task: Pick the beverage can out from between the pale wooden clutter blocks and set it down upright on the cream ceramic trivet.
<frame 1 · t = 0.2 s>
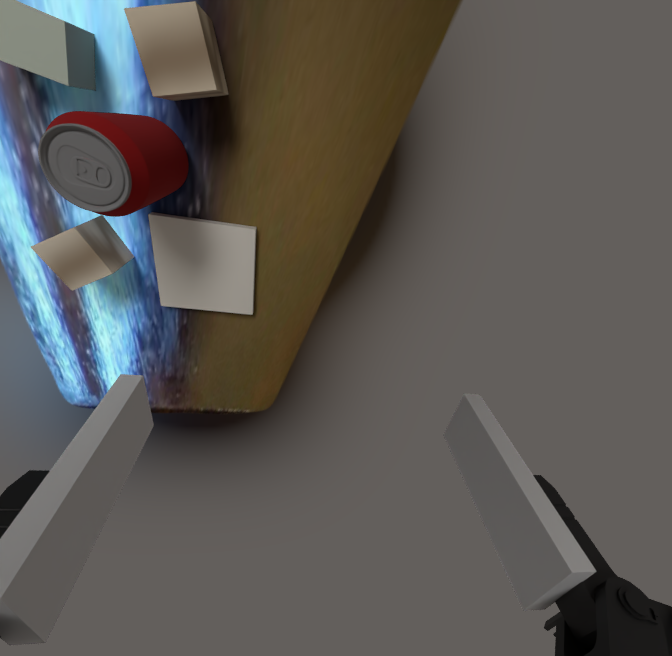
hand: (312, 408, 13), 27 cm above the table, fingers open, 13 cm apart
beverage can: (156, 156, 31), on the table
beech block: (192, 62, 28), on the table
trivet: (207, 266, 37), on the table
sage block: (55, 47, 26), on the table
maple block: (100, 244, 35), on the table
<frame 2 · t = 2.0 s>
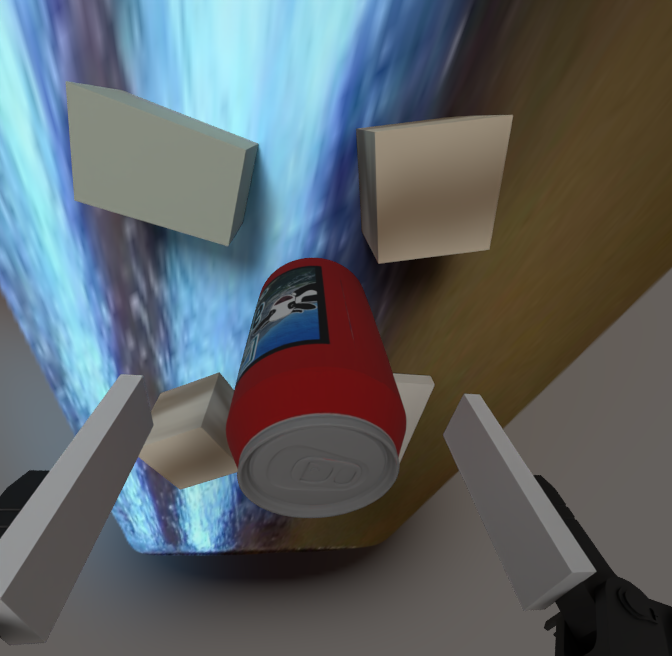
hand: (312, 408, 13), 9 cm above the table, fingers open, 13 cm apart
beverage can: (312, 300, 20), on the table
beech block: (405, 178, 17), on the table
trivet: (349, 419, 27), on the table
sage block: (189, 163, 16), on the table
maple block: (209, 403, 25), on the table
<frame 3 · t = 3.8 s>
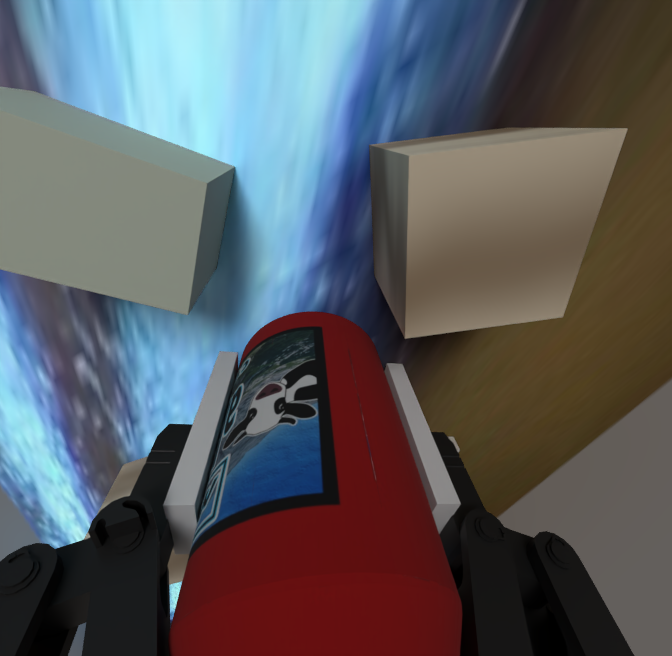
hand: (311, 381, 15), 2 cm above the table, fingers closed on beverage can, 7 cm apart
beverage can: (310, 358, 16), on the table, touching gripper
beech block: (433, 208, 13), on the table
sage block: (141, 192, 11), on the table
maple block: (184, 473, 20), on the table
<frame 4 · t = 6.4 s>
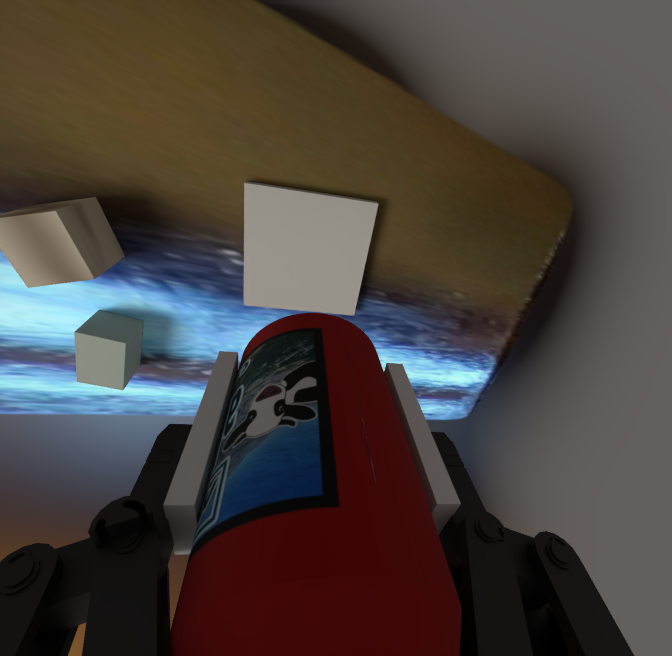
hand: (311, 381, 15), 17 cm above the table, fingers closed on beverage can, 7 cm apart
beverage can: (310, 359, 16), point 16 cm above the table, touching gripper
beech block: (82, 231, 27), on the table
trivet: (306, 254, 29), on the table
sage block: (121, 338, 33), on the table
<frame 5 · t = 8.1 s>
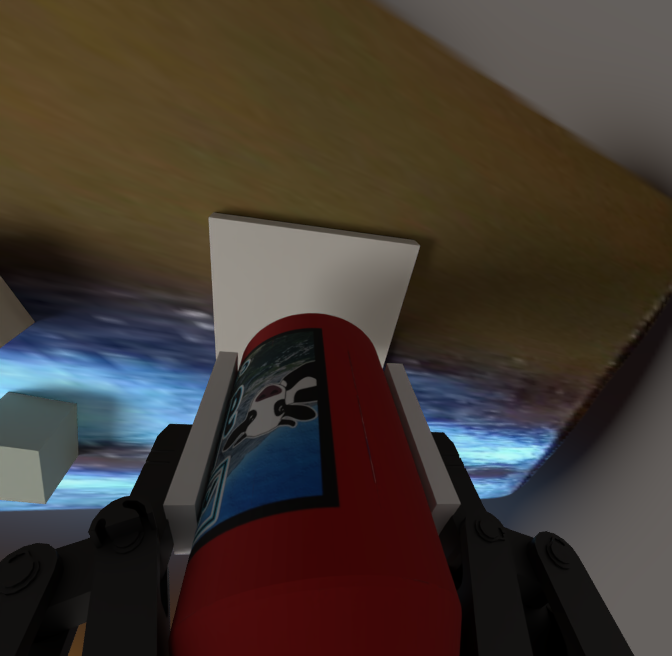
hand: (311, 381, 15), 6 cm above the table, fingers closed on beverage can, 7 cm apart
beverage can: (310, 359, 16), point 4 cm above the table, touching gripper
trivet: (308, 314, 20), on the table
sage block: (47, 424, 23), on the table
when the fingers open (4 cm above the table, at t = 9.3 s): beverage can drops 2 cm, resting on trivet.
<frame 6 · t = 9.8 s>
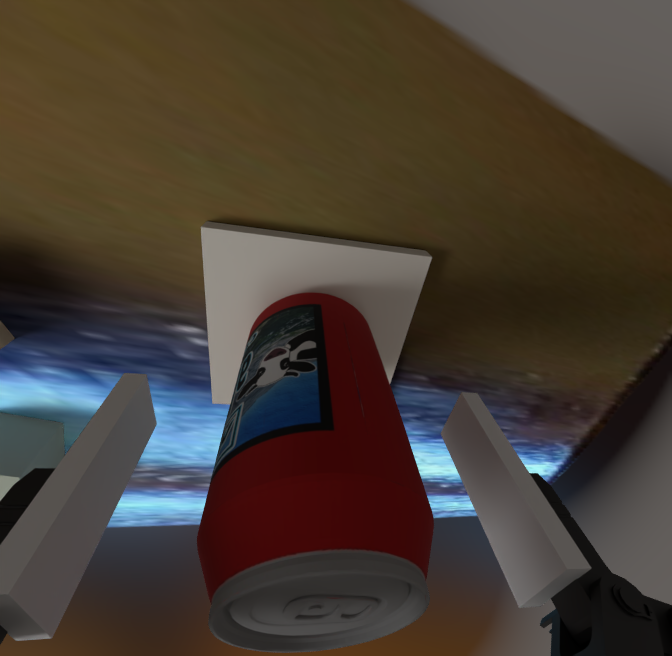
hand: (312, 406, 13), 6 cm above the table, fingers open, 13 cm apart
beverage can: (310, 337, 18), point 1 cm above the table, touching trivet
trivet: (309, 328, 18), on the table
sage block: (32, 443, 22), on the table
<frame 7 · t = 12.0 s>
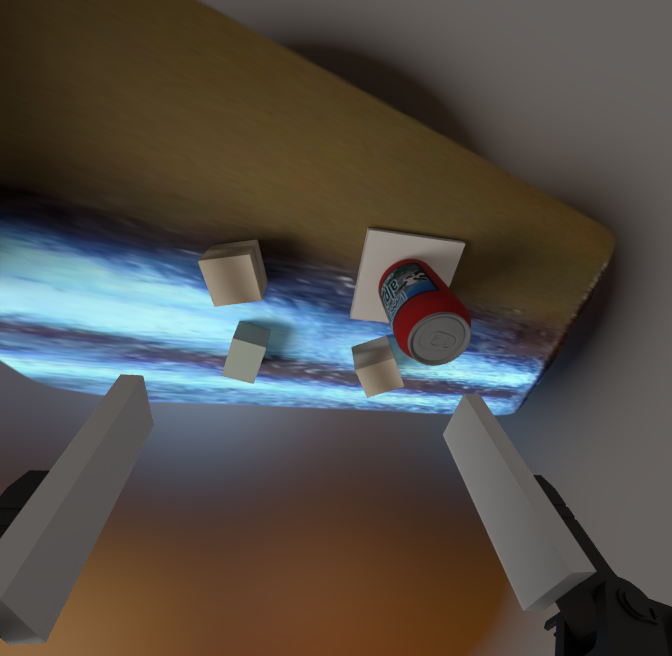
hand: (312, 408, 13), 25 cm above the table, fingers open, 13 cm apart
beverage can: (404, 283, 37), point 1 cm above the table, touching trivet
beech block: (241, 263, 36), on the table
trivet: (402, 279, 38), on the table
sage block: (249, 343, 41), on the table
maple block: (373, 354, 44), on the table
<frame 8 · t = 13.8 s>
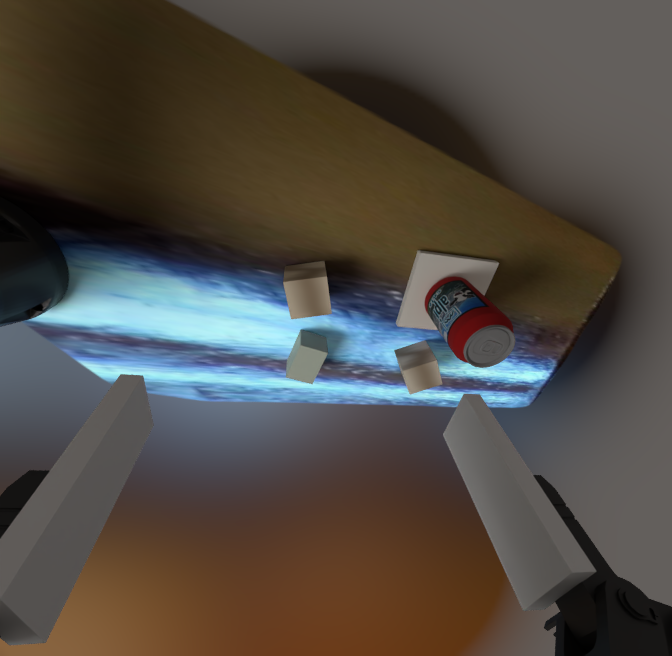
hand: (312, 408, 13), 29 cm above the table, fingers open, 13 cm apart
beverage can: (445, 295, 43), point 1 cm above the table, touching trivet
beech block: (307, 281, 41), on the table
trivet: (443, 293, 44), on the table
sage block: (306, 348, 47), on the table
maple block: (412, 356, 50), on the table
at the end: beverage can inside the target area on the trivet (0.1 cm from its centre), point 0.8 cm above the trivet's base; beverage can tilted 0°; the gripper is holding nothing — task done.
